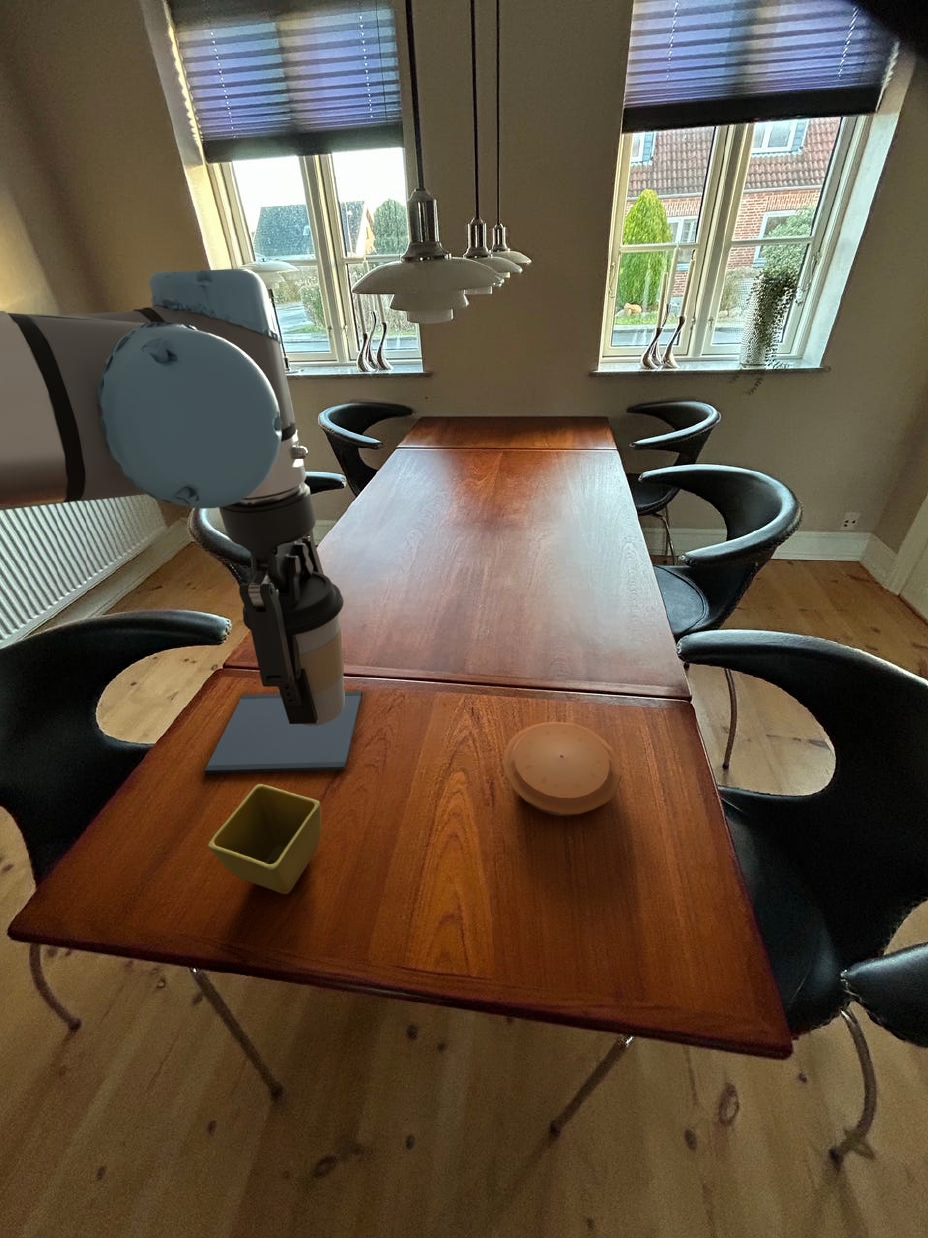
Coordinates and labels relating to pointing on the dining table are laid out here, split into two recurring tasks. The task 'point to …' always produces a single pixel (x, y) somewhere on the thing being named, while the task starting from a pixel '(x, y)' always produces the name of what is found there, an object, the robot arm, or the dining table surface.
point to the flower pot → (269, 838)
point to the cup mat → (282, 738)
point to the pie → (561, 768)
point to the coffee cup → (318, 642)
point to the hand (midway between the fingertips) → (314, 691)
